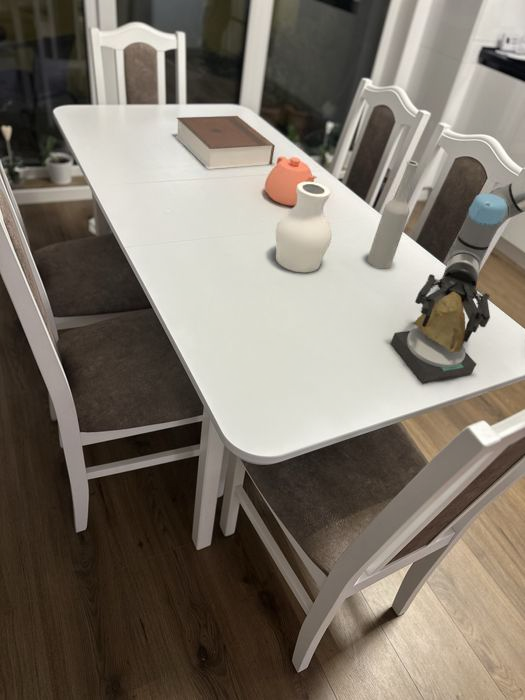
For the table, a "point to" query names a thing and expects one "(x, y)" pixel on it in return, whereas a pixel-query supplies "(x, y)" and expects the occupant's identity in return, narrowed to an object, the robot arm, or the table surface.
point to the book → (224, 141)
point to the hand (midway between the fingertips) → (446, 328)
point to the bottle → (392, 223)
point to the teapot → (287, 180)
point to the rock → (446, 322)
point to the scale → (431, 356)
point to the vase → (304, 230)
